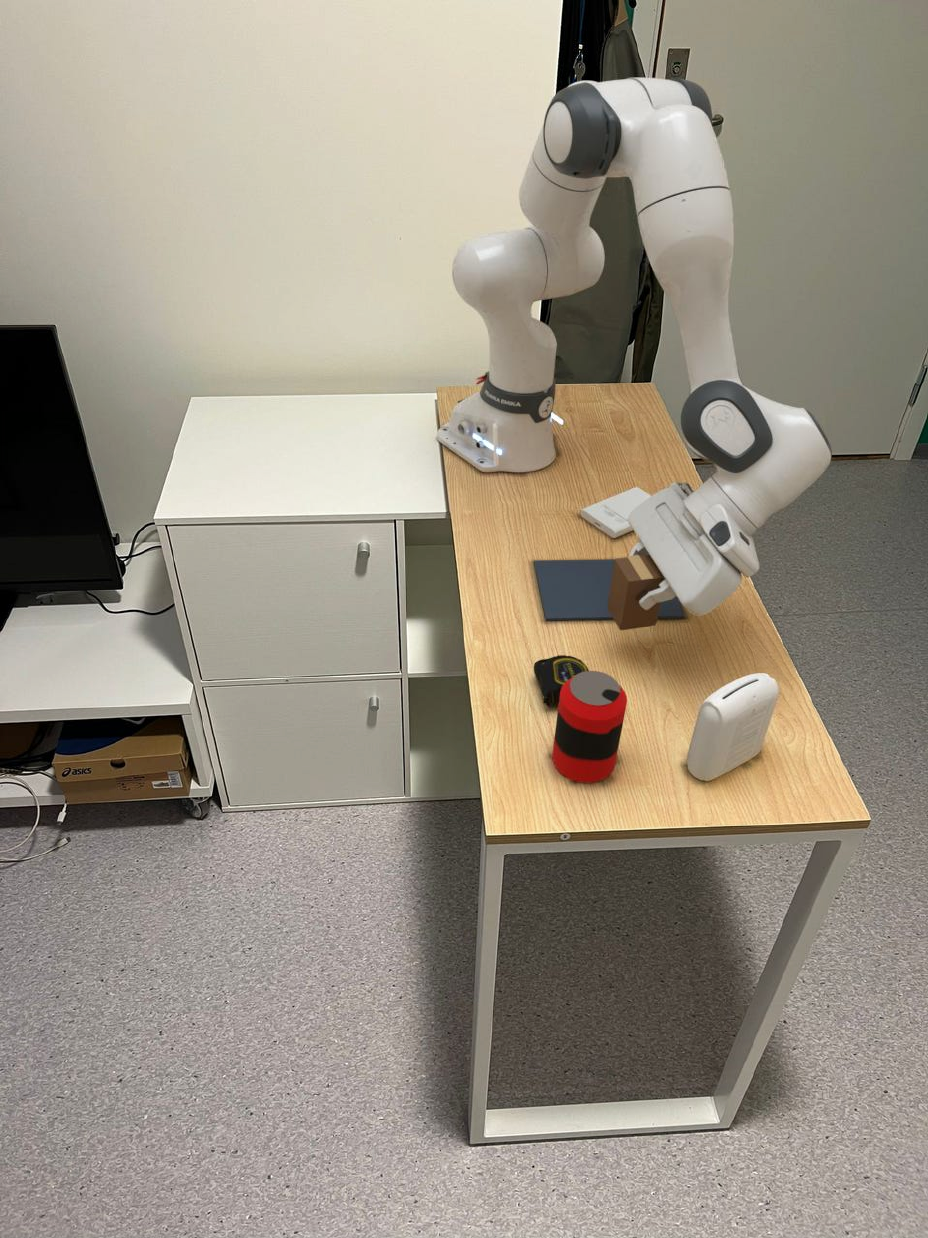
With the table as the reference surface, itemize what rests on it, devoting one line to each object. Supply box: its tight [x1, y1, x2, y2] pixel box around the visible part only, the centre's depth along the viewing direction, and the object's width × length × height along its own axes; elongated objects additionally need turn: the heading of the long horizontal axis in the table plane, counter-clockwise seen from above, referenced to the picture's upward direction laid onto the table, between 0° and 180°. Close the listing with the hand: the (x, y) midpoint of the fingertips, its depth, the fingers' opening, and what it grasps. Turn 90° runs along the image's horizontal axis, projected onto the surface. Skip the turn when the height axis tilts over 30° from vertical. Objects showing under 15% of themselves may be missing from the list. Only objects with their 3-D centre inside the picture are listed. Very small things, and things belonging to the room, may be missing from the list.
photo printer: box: [685, 672, 780, 782], centre depth 112 cm, size 10×4×12 cm, turn 123°
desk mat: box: [533, 558, 686, 622], centre depth 142 cm, size 20×14×1 cm
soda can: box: [551, 670, 628, 784], centre depth 112 cm, size 8×8×12 cm
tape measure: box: [533, 654, 590, 707], centre depth 124 cm, size 7×7×4 cm
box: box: [607, 555, 665, 631], centre depth 125 cm, size 5×5×8 cm
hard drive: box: [579, 486, 652, 539], centre depth 157 cm, size 2×8×12 cm
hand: (631, 589), depth 124 cm, fingers closed on box, 5 cm apart
